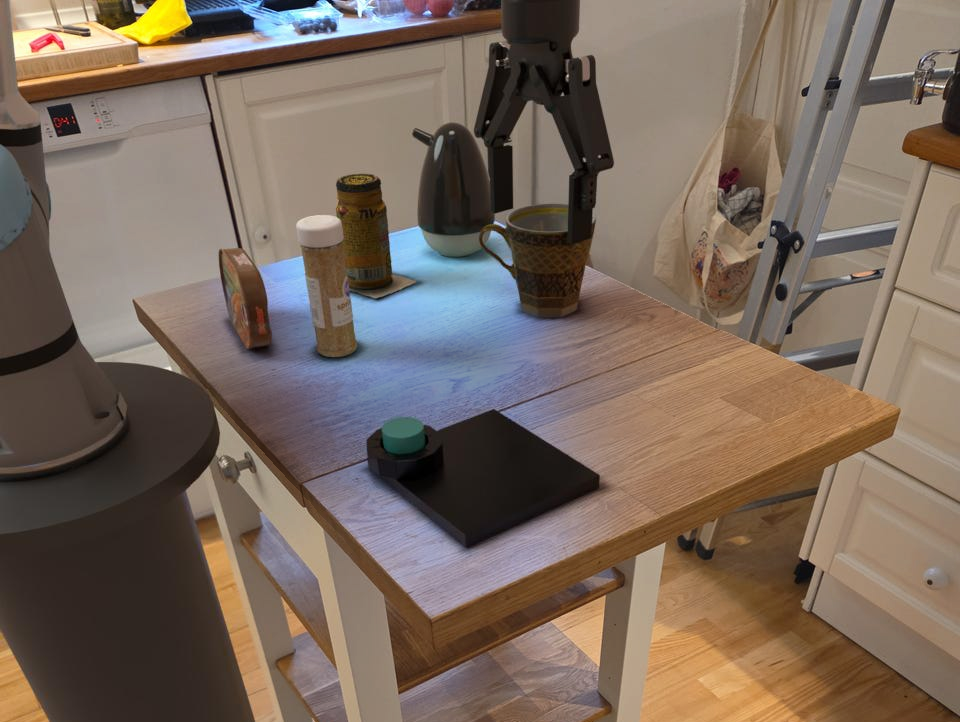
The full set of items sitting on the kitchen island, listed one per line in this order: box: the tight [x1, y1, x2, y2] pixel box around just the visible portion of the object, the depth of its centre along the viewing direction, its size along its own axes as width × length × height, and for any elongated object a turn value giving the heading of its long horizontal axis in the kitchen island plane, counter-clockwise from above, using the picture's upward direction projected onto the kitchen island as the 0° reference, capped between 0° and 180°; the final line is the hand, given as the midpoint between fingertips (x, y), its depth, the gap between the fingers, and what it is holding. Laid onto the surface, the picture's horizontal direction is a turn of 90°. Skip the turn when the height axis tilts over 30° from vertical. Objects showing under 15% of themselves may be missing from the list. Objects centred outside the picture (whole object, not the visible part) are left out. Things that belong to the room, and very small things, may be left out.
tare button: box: [381, 416, 425, 454], centre depth 75 cm, size 4×4×2 cm
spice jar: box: [295, 214, 358, 358], centre depth 92 cm, size 5×5×14 cm
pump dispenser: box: [411, 121, 496, 258], centre depth 113 cm, size 10×10×15 cm
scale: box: [365, 408, 601, 548], centre depth 76 cm, size 16×15×3 cm
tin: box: [218, 247, 273, 350], centre depth 98 cm, size 15×3×8 cm, turn 23°
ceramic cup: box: [479, 203, 597, 319], centre depth 100 cm, size 13×10×10 cm
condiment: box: [335, 173, 418, 299], centre depth 106 cm, size 7×8×12 cm
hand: (539, 225), depth 97 cm, fingers open, 13 cm apart
